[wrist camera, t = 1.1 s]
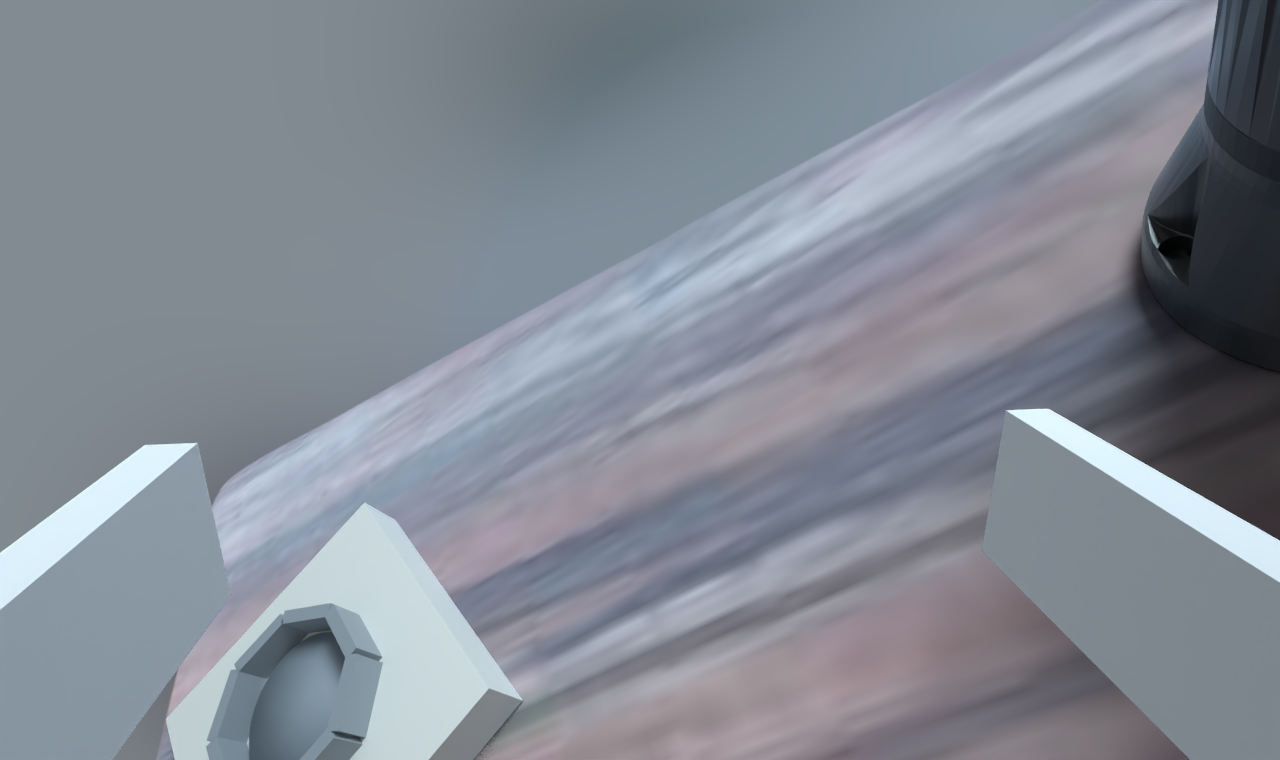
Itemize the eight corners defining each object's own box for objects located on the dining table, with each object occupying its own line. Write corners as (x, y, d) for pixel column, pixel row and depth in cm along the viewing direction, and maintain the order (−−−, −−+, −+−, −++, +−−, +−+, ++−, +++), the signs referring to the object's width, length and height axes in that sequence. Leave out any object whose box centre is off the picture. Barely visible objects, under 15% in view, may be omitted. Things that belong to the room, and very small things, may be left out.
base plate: (395, 520, 51) (342, 490, 47) (522, 700, 39) (464, 679, 35) (207, 727, 48) (136, 712, 45) (279, 992, 36) (189, 1000, 32)
